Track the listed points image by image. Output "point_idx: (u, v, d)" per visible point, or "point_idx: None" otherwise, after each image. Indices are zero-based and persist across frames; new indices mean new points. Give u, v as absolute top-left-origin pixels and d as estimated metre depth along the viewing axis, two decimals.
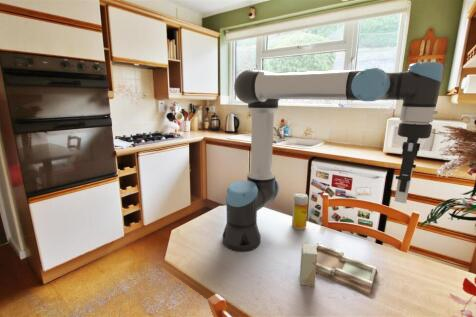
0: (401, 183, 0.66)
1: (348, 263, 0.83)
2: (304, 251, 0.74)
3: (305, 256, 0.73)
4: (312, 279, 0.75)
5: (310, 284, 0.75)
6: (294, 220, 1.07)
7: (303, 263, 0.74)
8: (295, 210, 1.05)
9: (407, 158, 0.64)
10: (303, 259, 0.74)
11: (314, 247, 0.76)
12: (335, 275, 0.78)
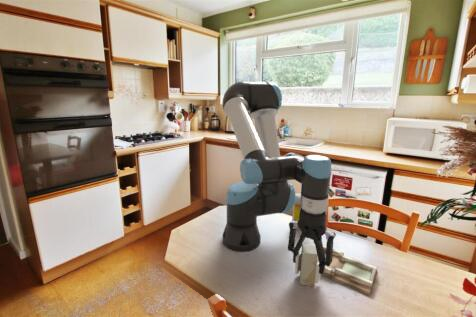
0: None
1: (348, 263, 0.83)
2: (304, 251, 0.74)
3: (305, 256, 0.73)
4: (312, 279, 0.75)
5: (310, 284, 0.75)
6: None
7: (303, 263, 0.74)
8: (295, 210, 1.05)
9: None
10: (303, 259, 0.74)
11: (314, 247, 0.76)
12: (335, 275, 0.78)
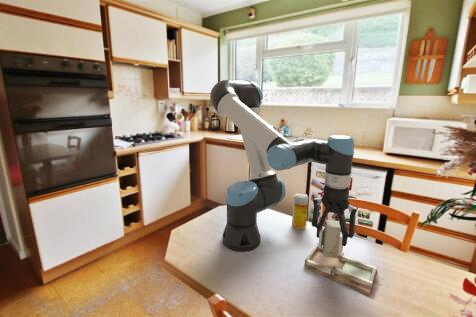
0: None
1: (348, 263, 0.83)
2: (328, 225, 0.80)
3: (329, 229, 0.79)
4: (335, 252, 0.81)
5: (333, 256, 0.81)
6: (294, 220, 1.07)
7: (327, 236, 0.80)
8: (295, 210, 1.05)
9: None
10: (327, 232, 0.80)
11: (337, 222, 0.82)
12: (335, 275, 0.78)
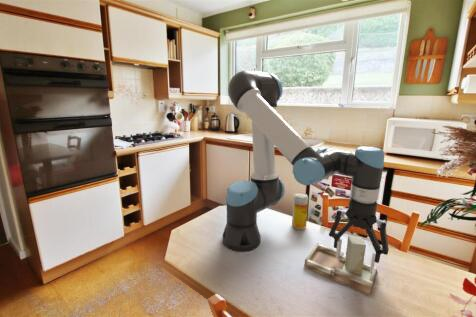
0: None
1: None
2: (352, 242, 0.76)
3: (353, 247, 0.76)
4: (359, 270, 0.77)
5: (357, 274, 0.78)
6: (294, 220, 1.07)
7: (351, 253, 0.76)
8: (295, 210, 1.05)
9: None
10: (351, 250, 0.76)
11: (361, 238, 0.78)
12: (335, 275, 0.78)
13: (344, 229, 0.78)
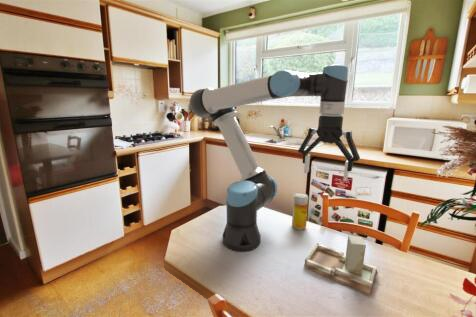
0: None
1: None
2: (352, 242, 0.77)
3: (353, 247, 0.76)
4: (359, 270, 0.77)
5: (357, 274, 0.78)
6: (294, 220, 1.07)
7: (351, 253, 0.76)
8: (295, 210, 1.05)
9: None
10: (351, 250, 0.76)
11: (361, 238, 0.78)
12: (335, 275, 0.78)
13: (313, 144, 0.86)
